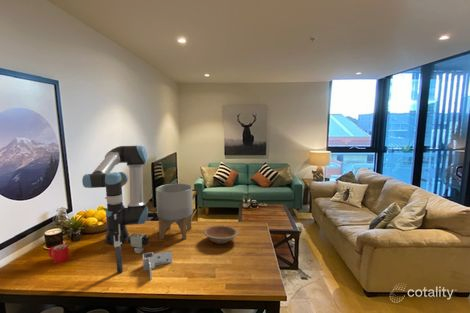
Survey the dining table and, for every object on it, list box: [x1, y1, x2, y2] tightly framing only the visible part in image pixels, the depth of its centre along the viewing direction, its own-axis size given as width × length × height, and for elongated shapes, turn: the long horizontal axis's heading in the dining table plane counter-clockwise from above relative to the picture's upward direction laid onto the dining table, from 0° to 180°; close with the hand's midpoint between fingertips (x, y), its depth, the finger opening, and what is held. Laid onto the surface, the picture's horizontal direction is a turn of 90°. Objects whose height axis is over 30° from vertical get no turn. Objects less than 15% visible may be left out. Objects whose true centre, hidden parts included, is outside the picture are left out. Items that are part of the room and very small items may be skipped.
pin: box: [114, 241, 124, 275], centre depth 141 cm, size 4×4×17 cm
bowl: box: [202, 224, 239, 245], centre depth 177 cm, size 24×24×8 cm
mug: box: [47, 243, 70, 264], centre depth 155 cm, size 8×12×8 cm, turn 86°
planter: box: [155, 182, 194, 241], centre depth 187 cm, size 25×25×34 cm
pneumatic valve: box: [127, 233, 150, 254], centre depth 163 cm, size 6×12×12 cm, turn 78°
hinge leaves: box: [142, 249, 173, 281], centre depth 144 cm, size 16×16×7 cm
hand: (117, 240), depth 139 cm, fingers open, 13 cm apart
